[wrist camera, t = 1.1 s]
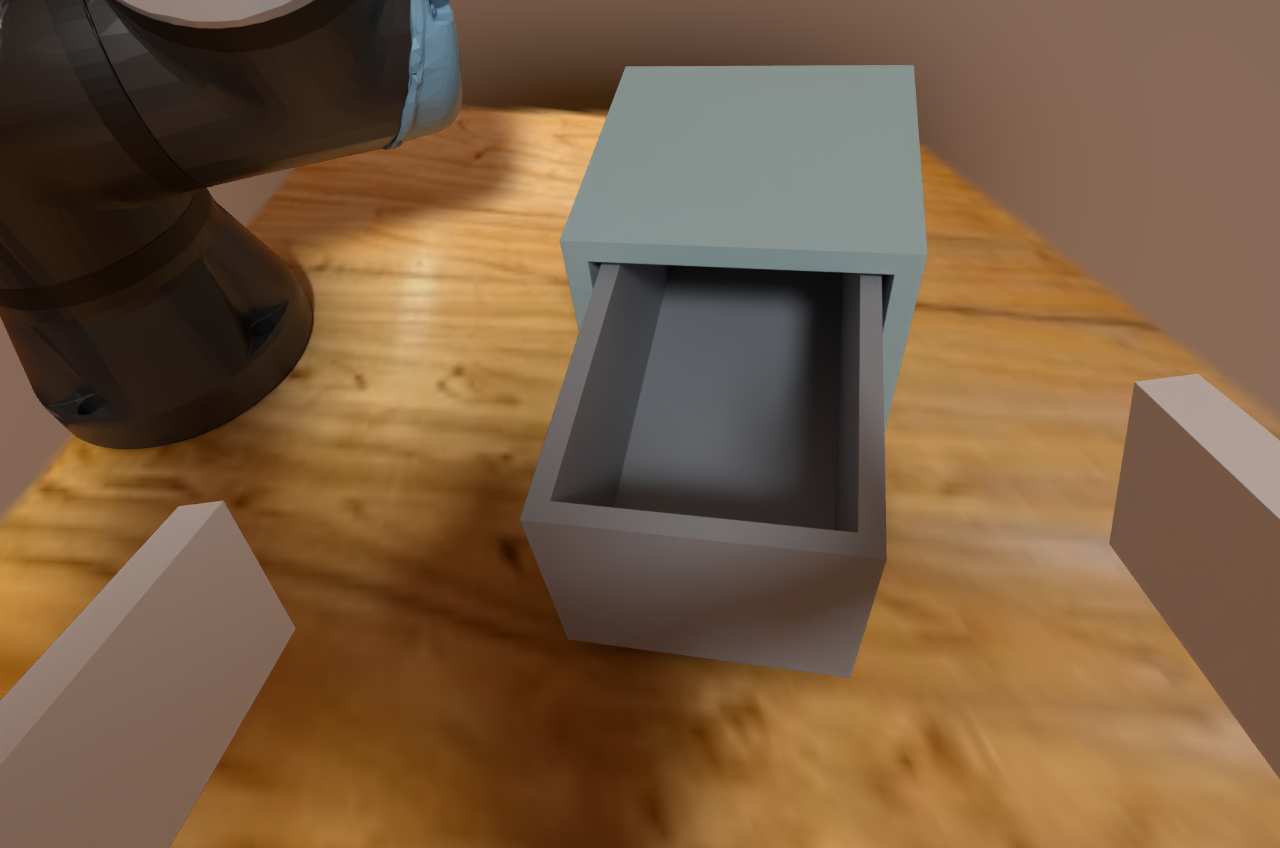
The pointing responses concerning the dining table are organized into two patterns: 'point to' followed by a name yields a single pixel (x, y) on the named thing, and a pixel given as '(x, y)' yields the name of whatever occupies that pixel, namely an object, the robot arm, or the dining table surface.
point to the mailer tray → (718, 466)
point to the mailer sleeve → (759, 180)
